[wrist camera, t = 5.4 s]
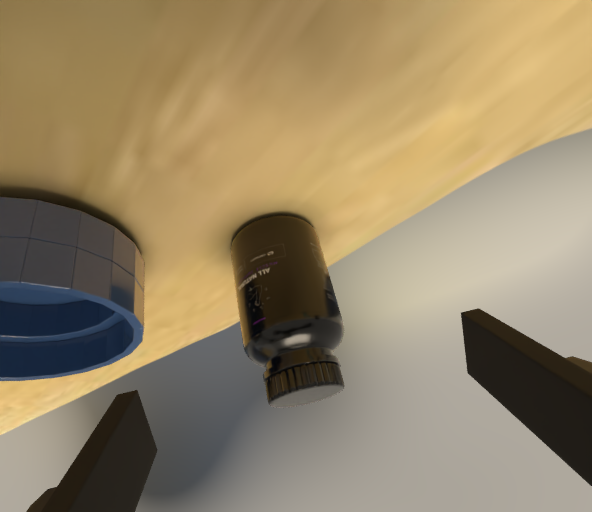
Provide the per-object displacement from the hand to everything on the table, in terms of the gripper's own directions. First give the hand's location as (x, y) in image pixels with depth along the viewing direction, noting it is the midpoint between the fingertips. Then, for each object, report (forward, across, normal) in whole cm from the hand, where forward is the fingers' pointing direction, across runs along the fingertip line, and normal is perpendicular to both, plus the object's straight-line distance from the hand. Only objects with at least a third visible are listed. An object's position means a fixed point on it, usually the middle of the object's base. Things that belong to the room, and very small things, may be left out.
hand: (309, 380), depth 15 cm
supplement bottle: (+16, 0, +3) cm, 16 cm away
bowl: (+13, -16, +6) cm, 21 cm away
